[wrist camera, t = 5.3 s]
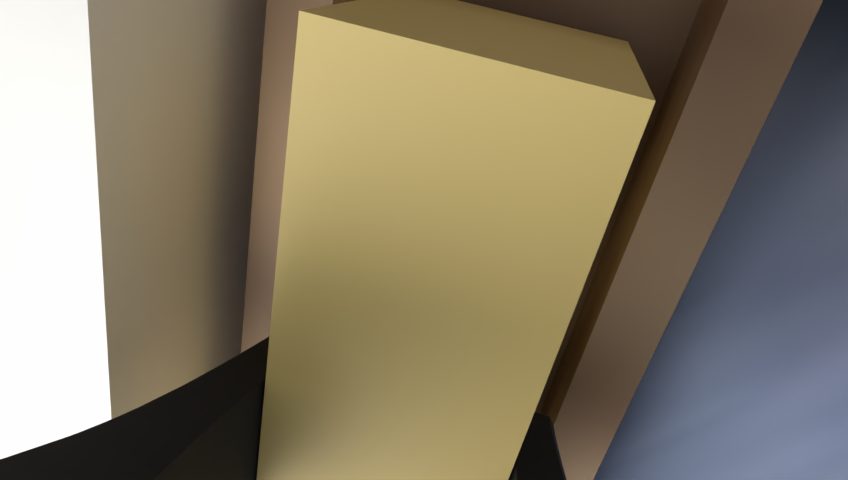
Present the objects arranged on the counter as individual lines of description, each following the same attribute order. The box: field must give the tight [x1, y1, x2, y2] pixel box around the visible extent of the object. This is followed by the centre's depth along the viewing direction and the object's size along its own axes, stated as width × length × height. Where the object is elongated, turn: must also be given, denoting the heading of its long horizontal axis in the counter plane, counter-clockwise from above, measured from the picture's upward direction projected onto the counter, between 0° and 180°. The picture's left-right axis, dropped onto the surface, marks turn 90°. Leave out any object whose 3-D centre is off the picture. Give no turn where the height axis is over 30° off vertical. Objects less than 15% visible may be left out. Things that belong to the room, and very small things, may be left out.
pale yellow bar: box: [256, 0, 656, 480], centre depth 12 cm, size 14×4×5 cm, turn 168°
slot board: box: [241, 0, 823, 480], centre depth 15 cm, size 22×16×4 cm
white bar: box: [0, 0, 267, 459], centre depth 13 cm, size 14×4×5 cm, turn 168°
